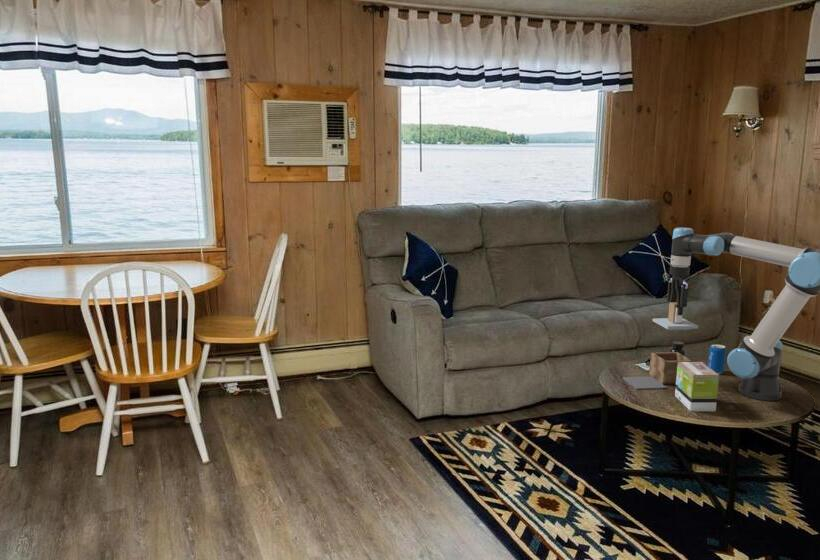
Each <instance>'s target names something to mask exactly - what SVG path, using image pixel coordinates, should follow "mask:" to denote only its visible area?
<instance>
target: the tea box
mask: <svg viewBox="0 0 820 560" xmlns="http://www.w3.org/2000/svg"><path fill="white" fill-rule="evenodd" d="M719 383H720V374H717V373H716V372H715V371H713V370H712V369H711V368H709V367H708V364H706V363H704V362H702V361H692V362H678V365H677V377H676V384H675V391H674V396H675V398H676V399H678V401H680V402H681V403H682V405H683V406H685V408H687V409H688V411H689V412H716V411H717V403H718V402H717V400H718V393H719Z"/></svg>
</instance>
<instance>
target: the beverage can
mask: <svg viewBox="0 0 820 560" xmlns="http://www.w3.org/2000/svg"><path fill="white" fill-rule="evenodd" d="M726 354H727V349H726V346H725V345H722V344H716V343H715V344H713V343H712V344H711V345H710V347H709V353H708V360H707V361H708V362H707V366H708V367H709V368H711V369H712V370H713V371H715V372H716V373H717V374H719V375H721V374H723V373H725V365H726V363H725V362H726Z"/></svg>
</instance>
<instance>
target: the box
mask: <svg viewBox="0 0 820 560" xmlns="http://www.w3.org/2000/svg"><path fill="white" fill-rule="evenodd" d="M649 360H650V361H649V371H648V375H649V376H652V377H653V378H655V379H656V380H658V381H659V382H660V383H662V384H672V385H676V377H677V365H678V362H693V360H692V359H689V357H686V355H685V356H683V355H681V354H680V353H678V352H669V351H666V352H650V359H649Z"/></svg>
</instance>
